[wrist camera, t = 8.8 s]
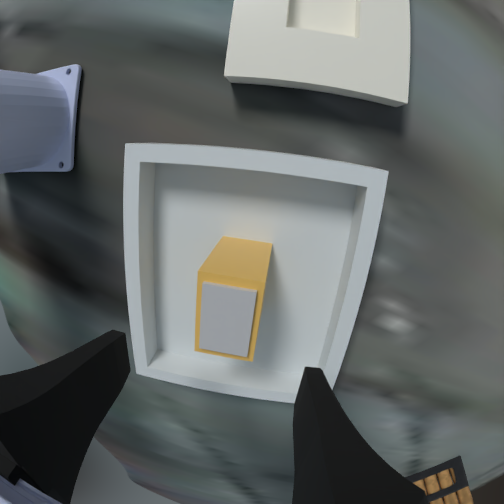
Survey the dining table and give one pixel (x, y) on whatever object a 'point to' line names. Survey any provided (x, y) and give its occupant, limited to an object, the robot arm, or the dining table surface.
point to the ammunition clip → (444, 483)
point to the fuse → (231, 298)
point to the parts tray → (251, 228)
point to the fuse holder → (323, 47)
